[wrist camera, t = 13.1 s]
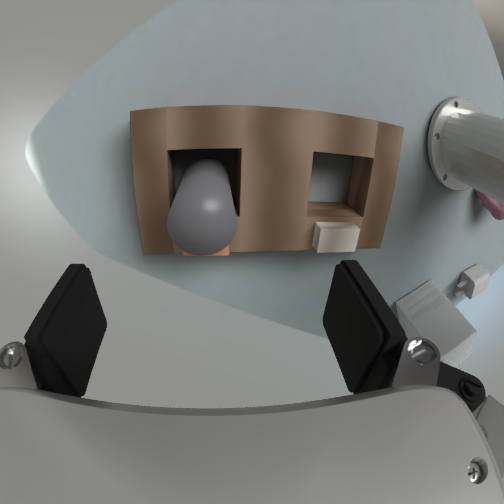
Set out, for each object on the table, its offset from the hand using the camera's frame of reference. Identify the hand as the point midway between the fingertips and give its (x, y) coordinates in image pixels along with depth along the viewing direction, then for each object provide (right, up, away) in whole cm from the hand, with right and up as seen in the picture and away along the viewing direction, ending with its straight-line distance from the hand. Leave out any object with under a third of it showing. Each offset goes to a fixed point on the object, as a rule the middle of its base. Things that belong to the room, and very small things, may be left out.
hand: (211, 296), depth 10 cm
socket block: (+3, +9, +17) cm, 19 cm away
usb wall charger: (+39, -3, +29) cm, 49 cm away
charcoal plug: (-3, +9, +16) cm, 19 cm away
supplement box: (+28, -7, +30) cm, 42 cm away
